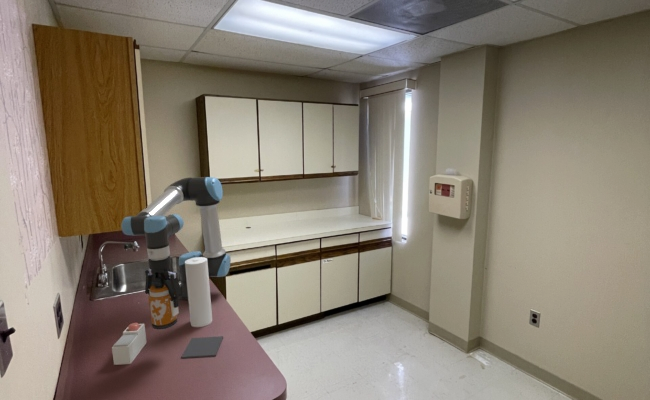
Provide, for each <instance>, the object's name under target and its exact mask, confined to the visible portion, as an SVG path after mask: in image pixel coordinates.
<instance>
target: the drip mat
mask: <svg viewBox="0 0 650 400" xmlns="http://www.w3.org/2000/svg"><path fill="white" fill-rule="evenodd" d="M223 340H224V336H223V335H222V336H221V335H220V336H205V337H203V336H202V337H192V338H191V339H190V340H189V342H188V344H187V345H186V347H185V349H184V350H183V353H182V355H181V356H180V359H188V358H189V359H190V358H191V359H193V358H194V359H195V358H207V357H208V358H210V357H217V355H218V352H219V349H220V347H221V344H222V343H223V342H222V341H223Z"/></svg>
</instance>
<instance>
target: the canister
mask: <svg viewBox="0 0 650 400" xmlns="http://www.w3.org/2000/svg"><path fill="white" fill-rule="evenodd" d="M166 281H168V280H166ZM152 285H153V286H152V287H151V288H150V290H149V293H150V295H149V294H148V296H147V297H148V304H149V313H150V319H151V320H150V321H151V328H152V329H154V330H166V329H169V328H172V327H173V326H175V325H176V324H177V323H178V314H177V315H175V316H174V317H173V316H172V312H171V303H170V300H172V298H171V296H170V294H169V292H168V288H167V287H166V286H165V285H164V284H163V283H162V281H161V279H160V278H159V277H156V278H155V279H153V282H152ZM174 296H175V295H174Z"/></svg>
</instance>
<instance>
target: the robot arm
mask: <svg viewBox="0 0 650 400" xmlns="http://www.w3.org/2000/svg"><path fill="white" fill-rule="evenodd" d="M223 193H224V192H223V186H222V183H221V182H220V180H219V179H218V178H216V177H211V176H199V177H185V178H180V179H178V180H177V181H174V182H172V183H171V184H170V185H168V186H167V187H166V188H165V189H164V191H163V193H162V194H161V195H159V196H158V197H157V198H156V199H154V200H153V201H152V202H151V203H149V204H148V205H147V206H146V207H147V208H146V207H145V208H146V209H145V208H144V209H143V210H141V211H140V212H139V213H138V214H136V215H135V216H133V215H130V216H126V217H124V218H123V219H122V221H121V223H120V225H121V226H120V227H121V231H122V233H123V234H124V235H126V236H134V237H135V236H145V242H146V251H147V258H148V260H147V261H148V269H146V270H145V271H144V273H145V284H144V285H145V287H144V294H146V295H147V294H148V296H149V295H150V293H149V290H150V288H151V287H152V286H153V285H152V282H153V279H155V278H156V277H159V278H160V279H161V281H162V283H163V284H164V285H165V286H166V287H167V288H168V292H169V294H170V296H171V298H172V300H170V303H171V312H172V316H173V317H174V316H175V315H177V316H178V314H180V312H179V306H180V303H179V302H180V301H179V299H180V300H182V301H188V290H187V280H186V269H185V261H186V260H188V259H191V258H196V257H205V258H207V262H208V274H209V278H211V277H212V278H213V277H214V278H216V277H217V278H220V277H225V276H227V275H228V273H229V271H230V267H231V261H232V260H231V255H230V254H228V253H226V252H227V250H226V249H225V248H223V244H222V236H221V228H220V226H221V225H220V220H219V218H220V217H219V211H218V205H219V204H220V202H221V200H222V199H223V196H224V195H223ZM187 201H188V202H189V201H191V202H193V201H194V203H195V206H196V207H197V208H199V214H200V221H201V229H202V235H203V237H202V238H203V243H204V249H205V250H204V252H203V253H202V252H201V251H200V250H194V251H190V252H186V253H183V254H181V255H180V256H179V258H178V268H179V269H178V270H179V274H178V272H177V271H175V272H172V271H171V269H170V268H171V265H172V260H171V256H170V255H171V250H170V244H169V243H170V242H169V237H171V236H173V235H175V234H178V233H179V232H180V231H181V230H182V229H183V228H184V219H183V218H182V216H180V215H179V214H177V213H171V214H168V212H169V211H171V210H172V209H173V208H174V207H175V206H176V205H180V204H181V203H183V202H187ZM167 214H168V215H167ZM178 275H179V277H178ZM179 278H180V282H179ZM166 280H168V281H166ZM174 295H175V296H174Z"/></svg>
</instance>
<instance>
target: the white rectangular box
mask: <svg viewBox="0 0 650 400" xmlns="http://www.w3.org/2000/svg"><path fill="white" fill-rule="evenodd" d="M138 324H139V329H138V330H137V331H129V328H128V326H127V327H126V329H124V331H122V335H121V337H120V338H118V340H117V341H116V342H114V344H113V346H112V347H111V353H112V358H113V366H116V365H117V366H118V365H132V363H133V361H134V360H135V359H136V358H137V357H138V355H139V354H140V353H141V352H142V349H143V348H144V347H145V345H146V344H147V336H146V335H147V334H146V327H145V326H146V324H145V323H138Z"/></svg>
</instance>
